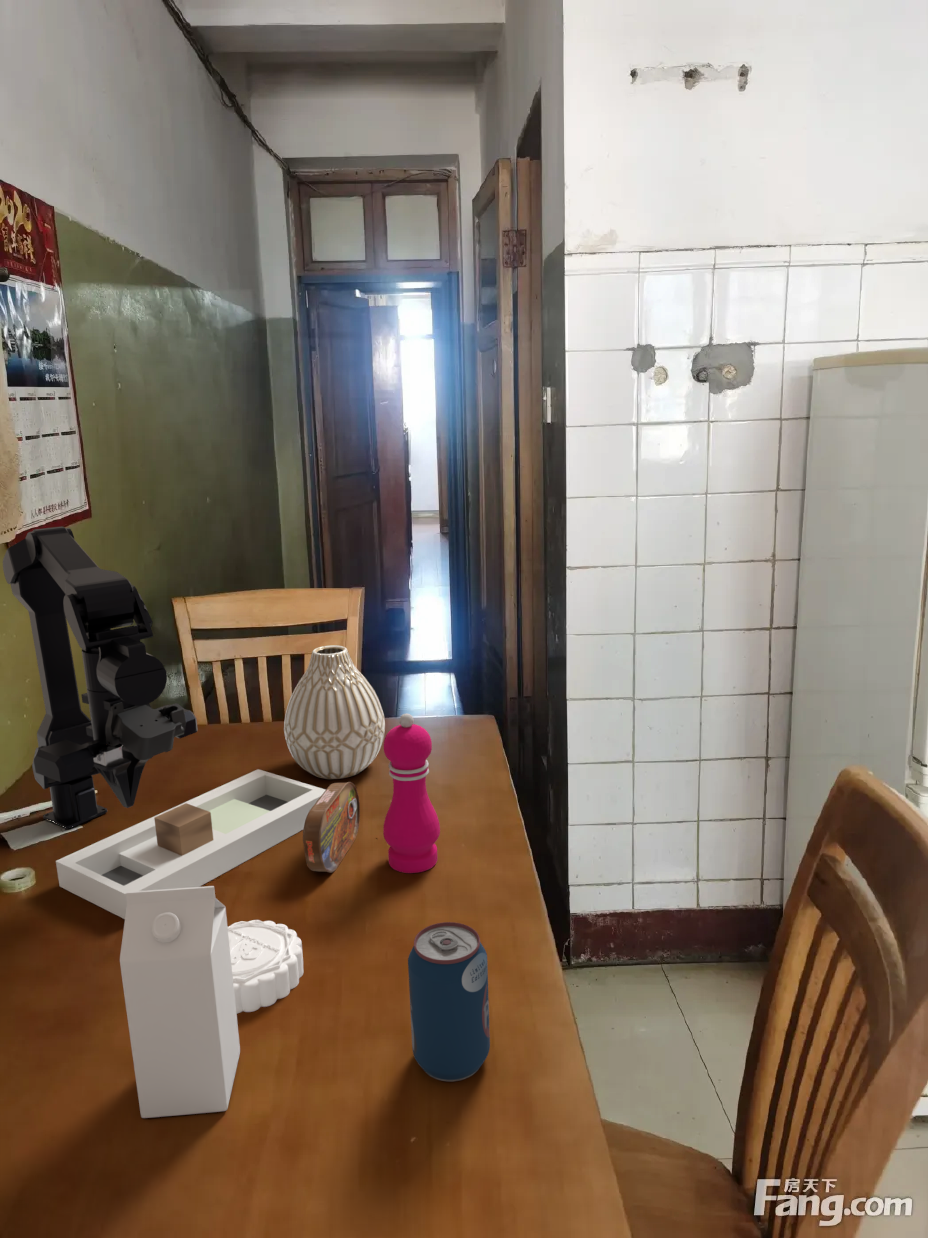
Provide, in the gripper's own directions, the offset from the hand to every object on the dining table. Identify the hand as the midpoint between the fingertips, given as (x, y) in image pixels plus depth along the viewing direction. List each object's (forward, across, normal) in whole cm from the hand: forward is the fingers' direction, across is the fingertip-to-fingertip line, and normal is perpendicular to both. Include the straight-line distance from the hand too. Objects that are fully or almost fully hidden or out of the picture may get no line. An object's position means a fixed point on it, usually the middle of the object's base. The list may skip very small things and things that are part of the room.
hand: (128, 806), depth 110 cm
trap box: (+10, +10, 0) cm, 15 cm away
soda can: (+10, -4, -51) cm, 52 cm away
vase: (+10, +40, +3) cm, 41 cm away
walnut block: (+8, +8, 0) cm, 11 cm away
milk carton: (+10, -18, -34) cm, 40 cm away
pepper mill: (+10, +22, -26) cm, 36 cm away
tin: (+10, +18, -16) cm, 27 cm away
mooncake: (+11, -6, -26) cm, 29 cm away
